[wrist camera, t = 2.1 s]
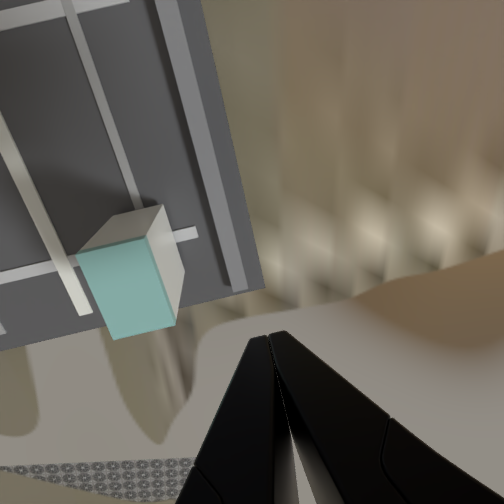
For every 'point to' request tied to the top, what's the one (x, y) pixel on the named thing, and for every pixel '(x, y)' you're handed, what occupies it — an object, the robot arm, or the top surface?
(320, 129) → the top surface
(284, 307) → the top surface
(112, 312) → the fader teal
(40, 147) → the console
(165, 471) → the model
